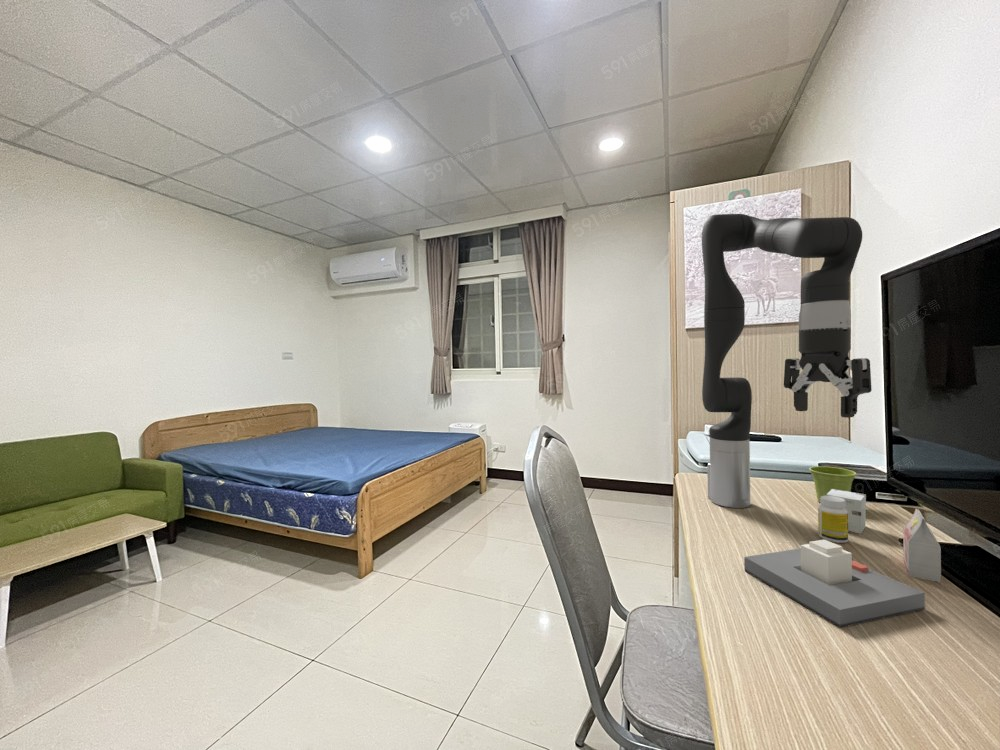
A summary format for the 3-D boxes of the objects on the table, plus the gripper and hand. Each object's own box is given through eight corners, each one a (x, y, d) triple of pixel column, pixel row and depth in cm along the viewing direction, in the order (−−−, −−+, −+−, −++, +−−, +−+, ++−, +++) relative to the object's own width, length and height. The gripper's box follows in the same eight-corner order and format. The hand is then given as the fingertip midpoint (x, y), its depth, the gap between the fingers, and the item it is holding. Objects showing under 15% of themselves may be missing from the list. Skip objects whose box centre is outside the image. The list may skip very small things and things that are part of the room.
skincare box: (825, 526, 89) (825, 493, 89) (831, 519, 93) (830, 488, 93) (862, 534, 84) (861, 500, 84) (866, 526, 88) (866, 493, 88)
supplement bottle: (854, 544, 80) (853, 502, 79) (827, 542, 81) (826, 501, 80) (838, 534, 84) (838, 495, 84) (813, 533, 85) (813, 494, 85)
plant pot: (802, 502, 104) (802, 469, 104) (818, 495, 109) (818, 464, 109) (847, 512, 96) (847, 477, 96) (862, 505, 101) (862, 471, 101)
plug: (801, 580, 66) (800, 540, 66) (823, 576, 67) (823, 536, 67) (828, 595, 62) (828, 552, 62) (852, 590, 63) (851, 548, 63)
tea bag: (933, 566, 70) (932, 510, 70) (940, 582, 65) (940, 522, 65) (903, 560, 73) (903, 506, 73) (909, 575, 68) (908, 517, 67)
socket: (744, 570, 70) (744, 553, 70) (816, 559, 74) (815, 542, 74) (840, 627, 55) (839, 605, 55) (924, 609, 58) (924, 588, 58)
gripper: (773, 330, 80) (773, 410, 80) (849, 324, 66) (848, 420, 67) (803, 330, 81) (803, 408, 82) (883, 323, 67) (882, 418, 68)
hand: (823, 413), depth 74 cm, fingers open, 8 cm apart
